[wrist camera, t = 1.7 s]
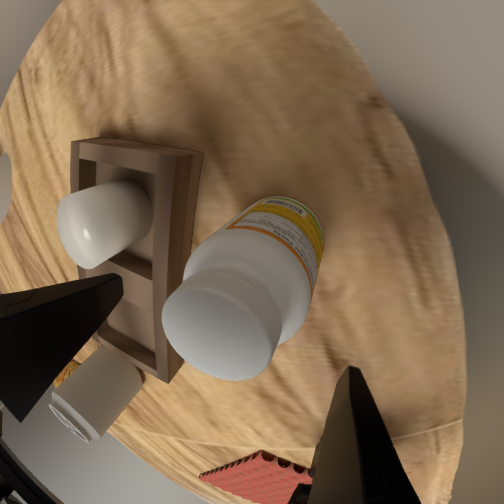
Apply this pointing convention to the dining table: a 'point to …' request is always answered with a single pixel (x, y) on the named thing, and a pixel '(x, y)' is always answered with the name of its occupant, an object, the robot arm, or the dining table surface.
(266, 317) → the supplement bottle
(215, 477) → the red studded mat
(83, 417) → the can
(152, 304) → the caddy
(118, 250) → the white rounded cylinder
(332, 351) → the dining table surface
